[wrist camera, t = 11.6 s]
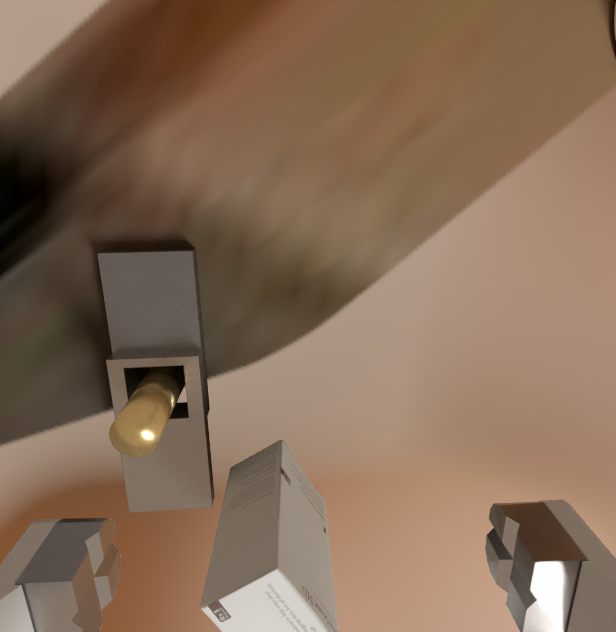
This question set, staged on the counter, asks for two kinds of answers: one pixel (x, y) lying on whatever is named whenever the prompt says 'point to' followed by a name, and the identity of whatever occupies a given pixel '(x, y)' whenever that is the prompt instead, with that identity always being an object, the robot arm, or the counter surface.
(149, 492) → the bar with square hole
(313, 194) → the counter surface
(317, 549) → the skincare box
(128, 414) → the pin
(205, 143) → the counter surface
